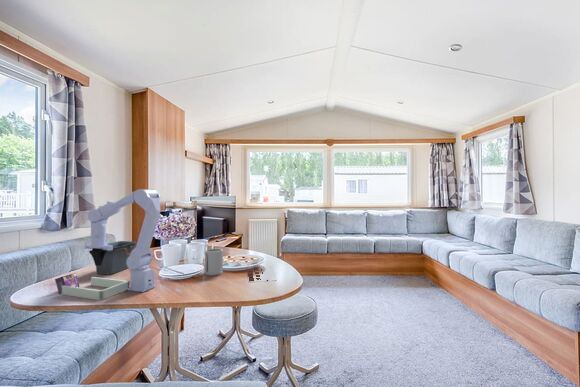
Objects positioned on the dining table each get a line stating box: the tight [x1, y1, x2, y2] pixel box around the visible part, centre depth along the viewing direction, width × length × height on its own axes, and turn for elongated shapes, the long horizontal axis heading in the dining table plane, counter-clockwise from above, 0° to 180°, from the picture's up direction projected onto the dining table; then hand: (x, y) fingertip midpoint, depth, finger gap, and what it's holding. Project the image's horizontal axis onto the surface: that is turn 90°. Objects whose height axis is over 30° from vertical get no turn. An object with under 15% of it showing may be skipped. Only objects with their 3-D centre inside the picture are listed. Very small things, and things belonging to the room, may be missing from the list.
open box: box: [61, 276, 130, 301], centre depth 128 cm, size 21×14×4 cm, turn 73°
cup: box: [204, 248, 224, 276], centre depth 158 cm, size 9×9×12 cm
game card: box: [54, 272, 80, 295], centre depth 130 cm, size 7×5×9 cm
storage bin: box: [95, 240, 137, 275], centre depth 161 cm, size 21×16×14 cm
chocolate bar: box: [246, 268, 263, 281], centre depth 157 cm, size 27×14×1 cm, turn 10°
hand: (98, 265), depth 135 cm, fingers closed
